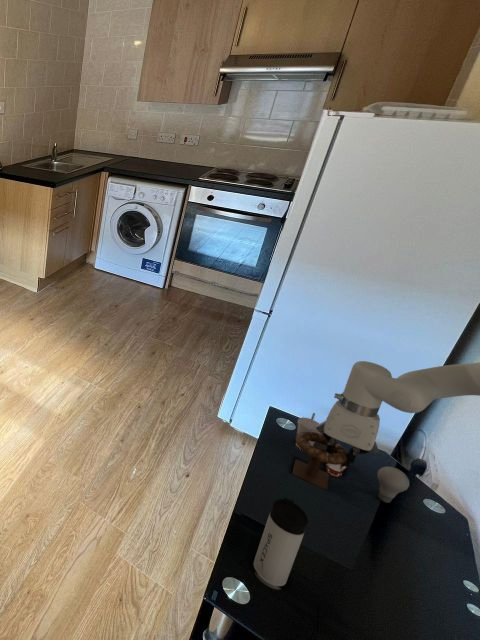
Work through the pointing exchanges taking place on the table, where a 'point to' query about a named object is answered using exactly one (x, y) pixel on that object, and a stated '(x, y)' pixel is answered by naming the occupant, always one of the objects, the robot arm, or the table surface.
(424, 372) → the robot arm
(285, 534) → the travel mug
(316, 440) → the ring
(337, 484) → the table surface
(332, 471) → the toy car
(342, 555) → the table surface
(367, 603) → the table surface
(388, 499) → the lightbulb
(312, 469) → the brown t-shaped piece
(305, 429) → the smoothie
